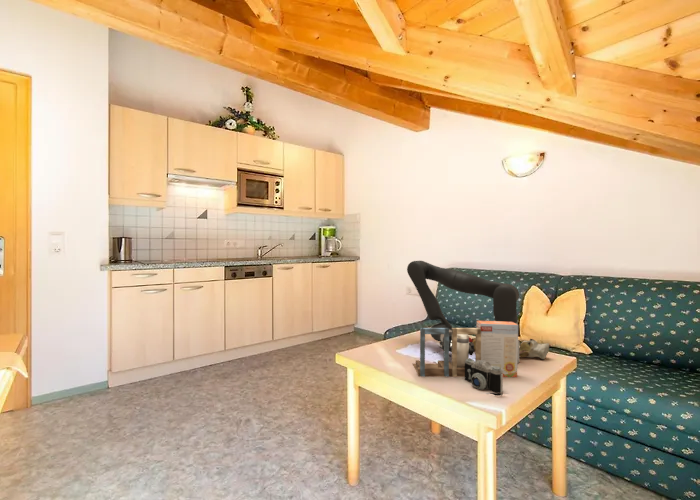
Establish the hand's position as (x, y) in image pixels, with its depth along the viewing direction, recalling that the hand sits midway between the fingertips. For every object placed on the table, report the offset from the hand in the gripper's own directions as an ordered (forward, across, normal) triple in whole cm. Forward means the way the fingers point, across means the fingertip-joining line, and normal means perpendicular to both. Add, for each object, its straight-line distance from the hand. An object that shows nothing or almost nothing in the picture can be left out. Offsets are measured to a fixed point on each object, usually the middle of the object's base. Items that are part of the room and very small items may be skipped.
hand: (463, 352), depth 131 cm
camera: (+12, +2, +9) cm, 15 cm away
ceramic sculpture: (-22, +37, +9) cm, 44 cm away
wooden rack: (-4, -6, +9) cm, 11 cm away
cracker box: (0, +12, +9) cm, 15 cm away
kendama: (-34, +19, +10) cm, 40 cm away
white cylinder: (-3, 0, +8) cm, 8 cm away
